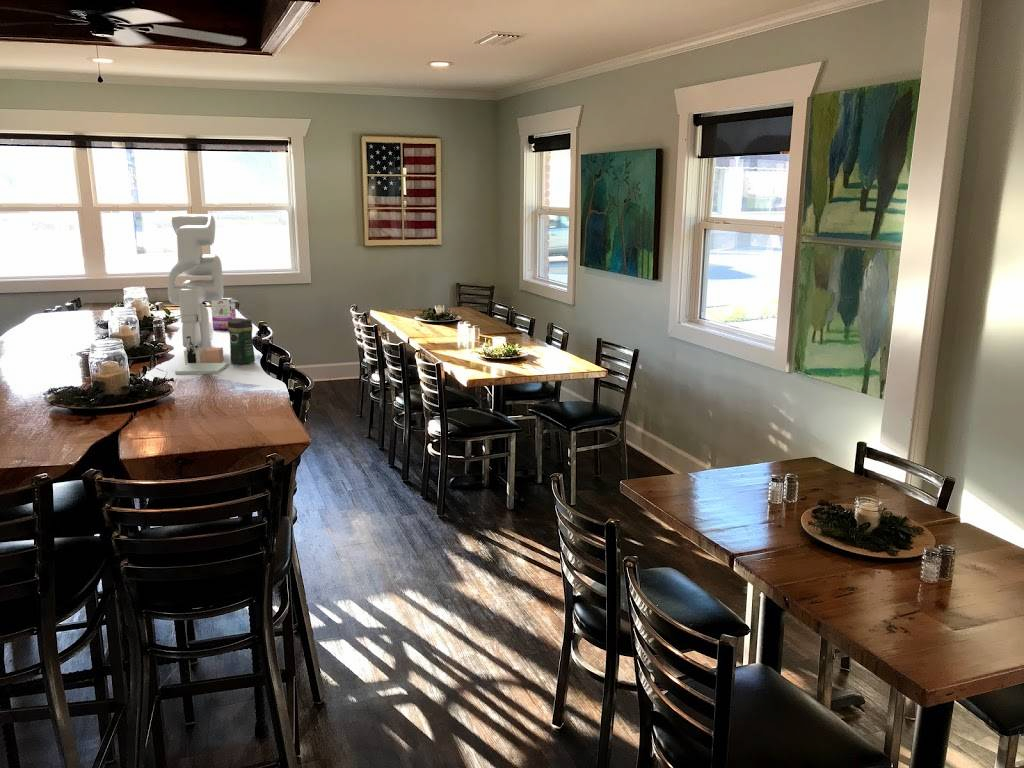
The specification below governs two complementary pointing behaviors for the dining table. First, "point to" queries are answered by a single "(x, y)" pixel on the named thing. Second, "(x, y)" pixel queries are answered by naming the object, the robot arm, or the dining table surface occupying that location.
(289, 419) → the dining table surface
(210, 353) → the terracotta block
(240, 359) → the coffee jar
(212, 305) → the candy bar box
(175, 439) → the dining table surface
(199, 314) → the robot arm
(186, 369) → the board
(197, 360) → the cream block
